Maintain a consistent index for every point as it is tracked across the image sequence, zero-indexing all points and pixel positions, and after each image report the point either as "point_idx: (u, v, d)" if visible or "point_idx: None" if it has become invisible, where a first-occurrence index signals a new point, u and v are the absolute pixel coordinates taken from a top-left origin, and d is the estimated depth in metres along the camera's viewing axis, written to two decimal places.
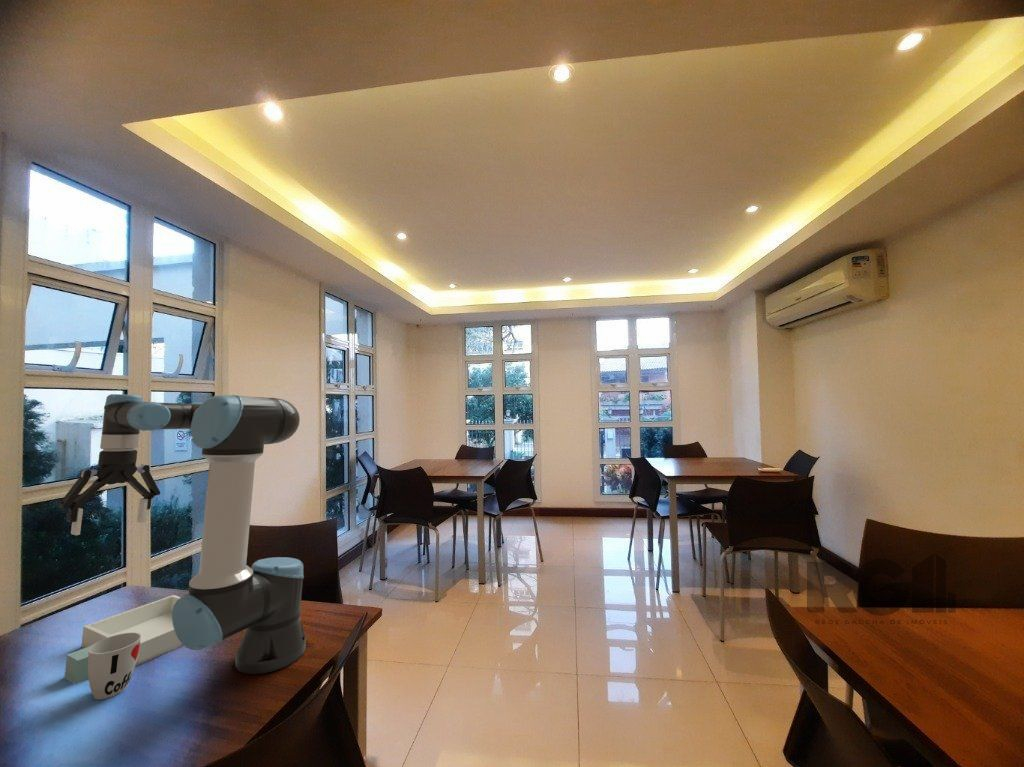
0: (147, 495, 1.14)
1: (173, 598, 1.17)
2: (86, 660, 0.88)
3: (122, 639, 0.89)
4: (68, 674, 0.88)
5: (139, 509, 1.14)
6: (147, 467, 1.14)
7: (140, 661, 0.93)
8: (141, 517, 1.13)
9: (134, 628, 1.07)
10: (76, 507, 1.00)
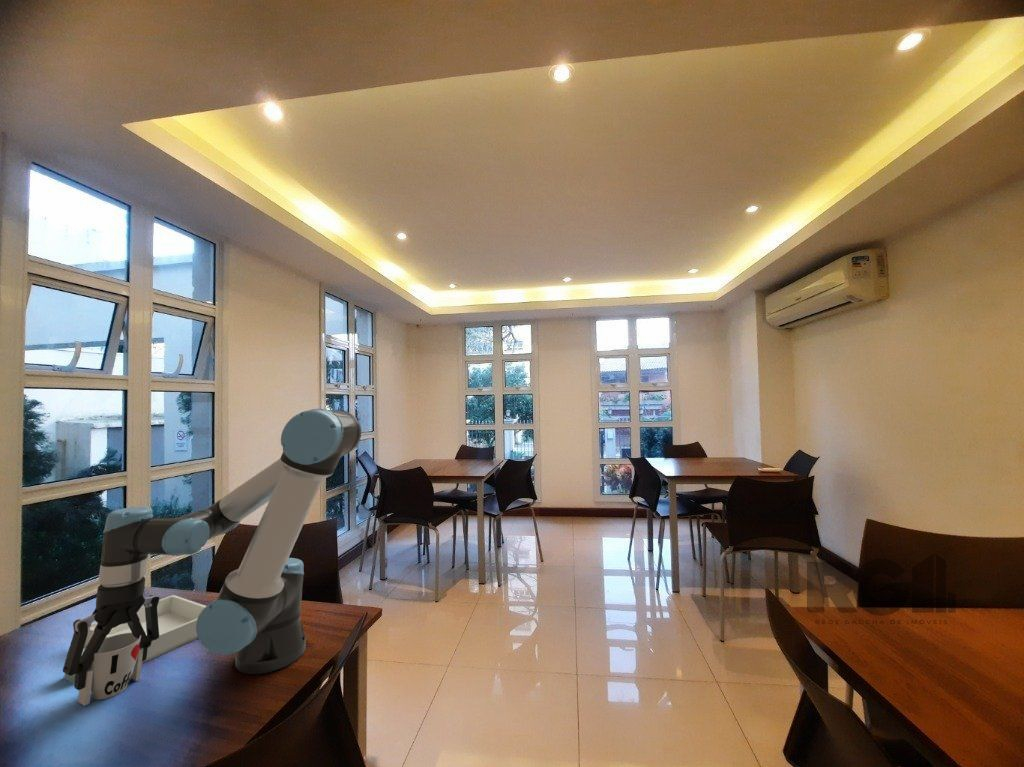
0: (143, 642, 0.89)
1: (173, 598, 1.17)
2: None
3: (122, 640, 0.89)
4: None
5: None
6: (156, 600, 0.91)
7: None
8: (135, 673, 0.88)
9: None
10: (85, 670, 0.80)
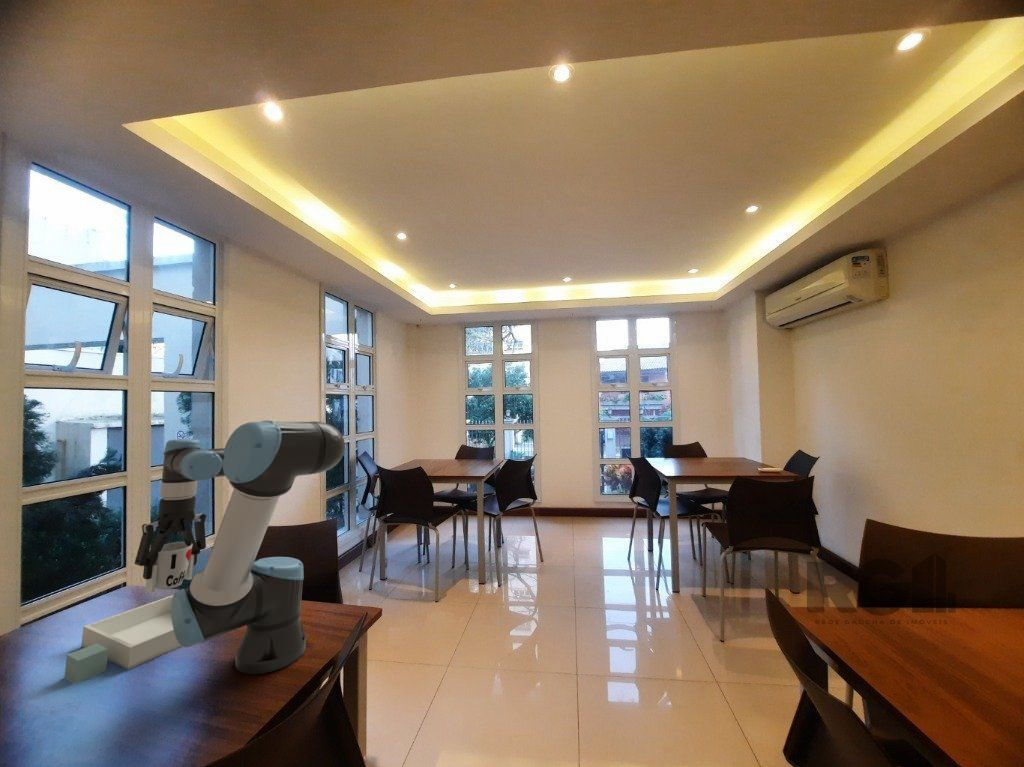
0: (194, 549, 1.08)
1: None
2: (86, 660, 0.88)
3: (176, 547, 1.08)
4: (68, 674, 0.88)
5: None
6: (204, 516, 1.10)
7: (140, 661, 0.93)
8: (187, 574, 1.07)
9: (134, 628, 1.07)
10: (152, 564, 0.99)
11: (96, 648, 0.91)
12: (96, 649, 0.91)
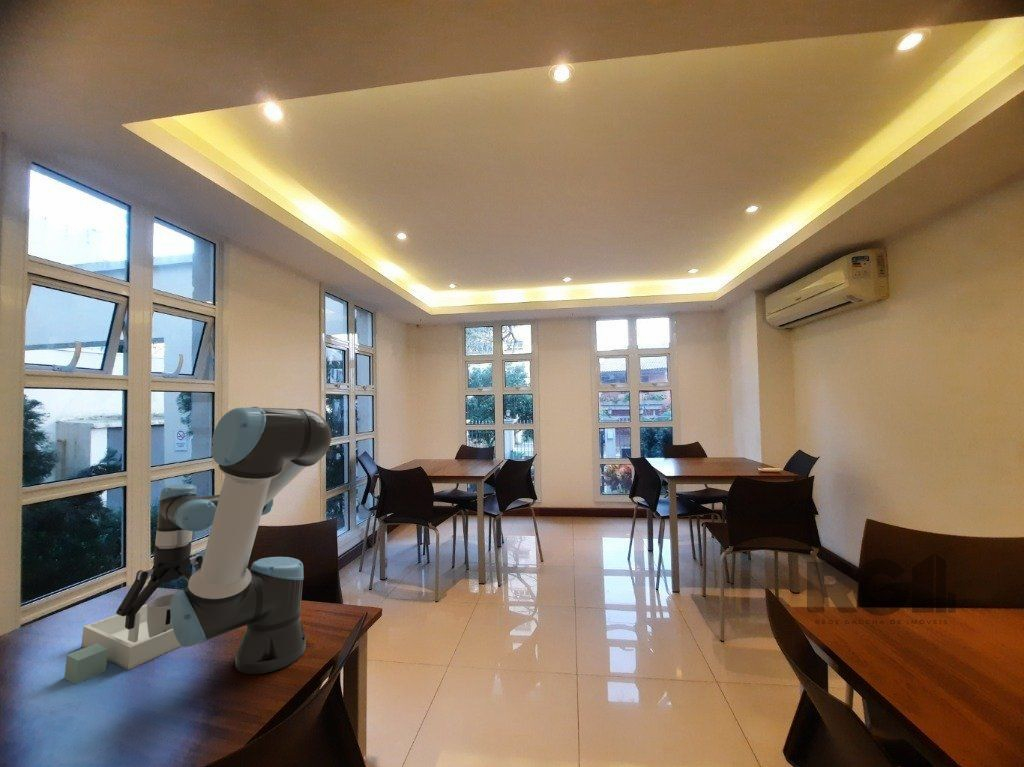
0: None
1: None
2: (86, 660, 0.88)
3: None
4: (68, 674, 0.88)
5: None
6: (200, 558, 1.09)
7: (140, 661, 0.93)
8: None
9: None
10: (134, 613, 0.96)
11: (96, 648, 0.91)
12: (96, 649, 0.91)
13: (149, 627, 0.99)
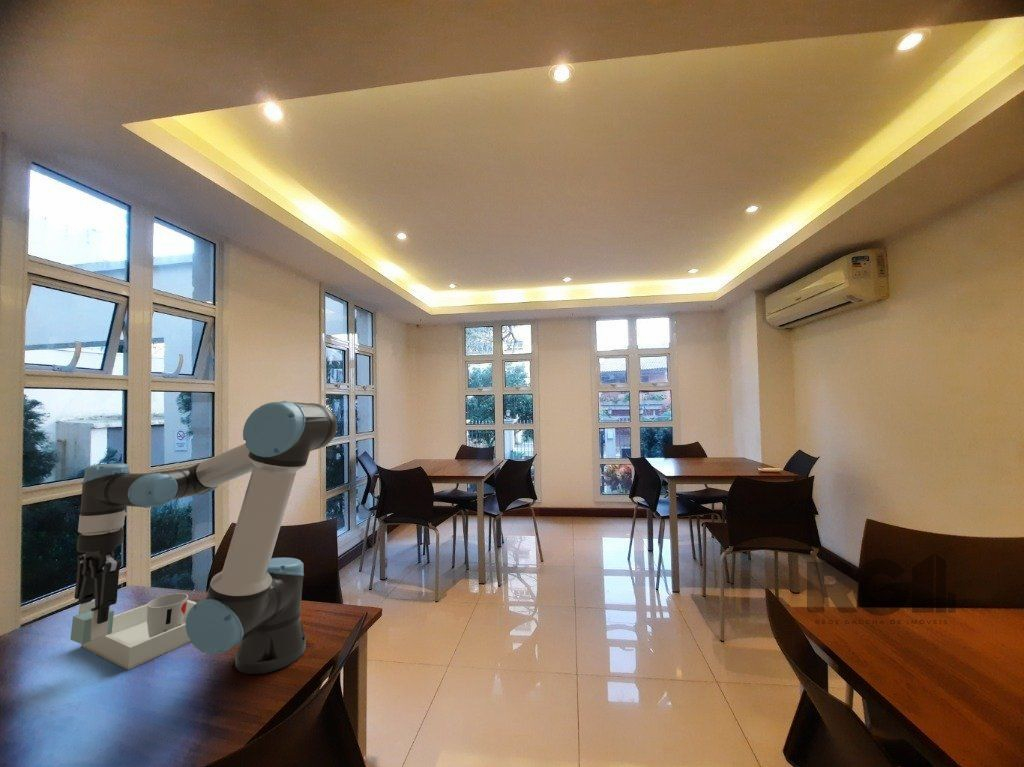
0: (95, 603, 0.88)
1: None
2: None
3: (172, 599, 1.07)
4: (75, 634, 0.88)
5: None
6: (105, 566, 0.88)
7: (140, 661, 0.93)
8: None
9: (134, 628, 1.07)
10: (79, 601, 0.91)
11: None
12: None
13: (149, 627, 1.00)
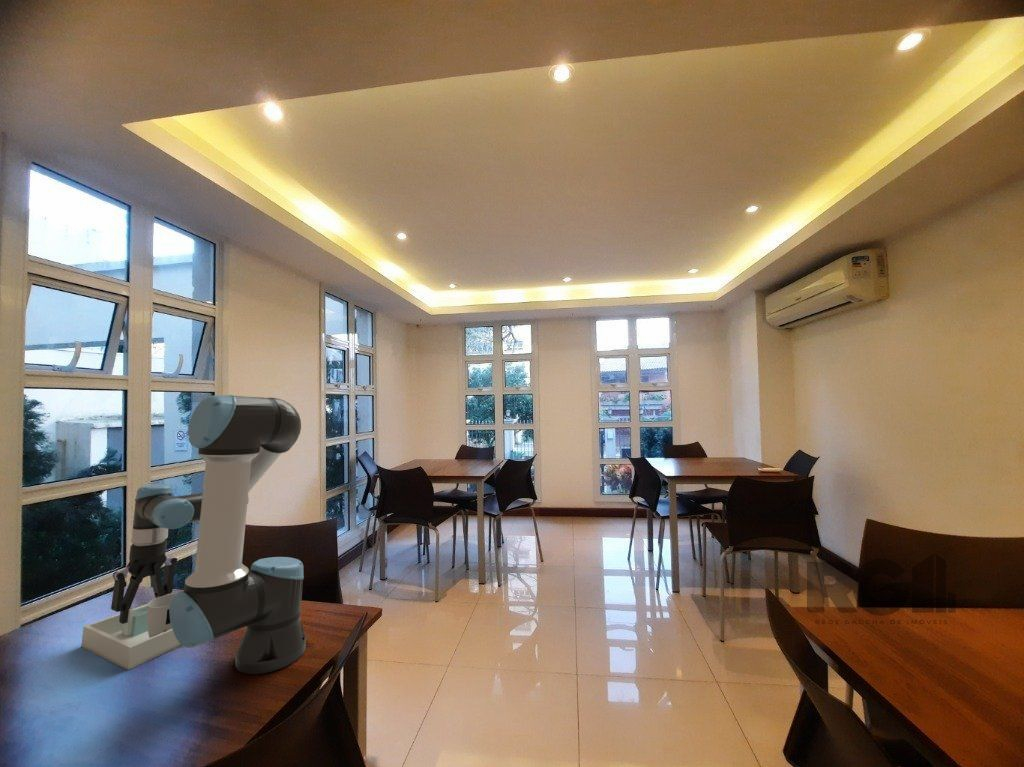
0: (160, 594, 1.10)
1: None
2: None
3: None
4: (142, 627, 1.05)
5: None
6: (175, 560, 1.13)
7: (140, 661, 0.93)
8: None
9: None
10: (127, 608, 1.03)
11: (139, 609, 1.08)
12: (142, 608, 1.08)
13: (149, 627, 0.99)
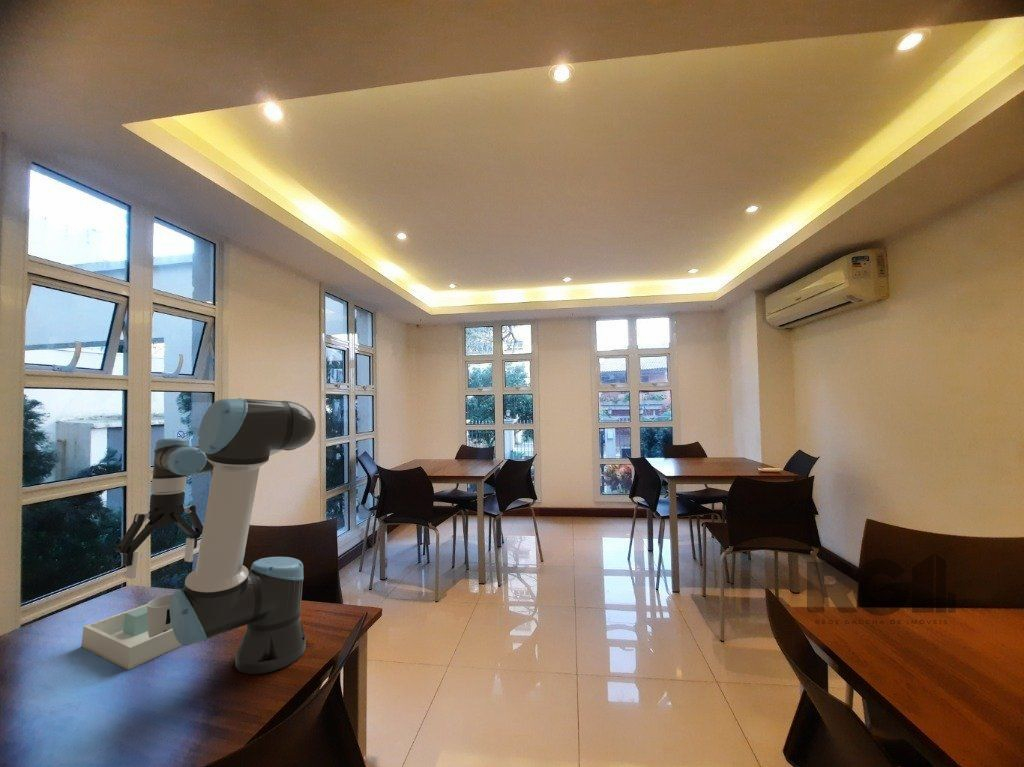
0: (194, 535, 1.17)
1: None
2: None
3: None
4: (142, 627, 1.05)
5: (186, 548, 1.17)
6: (193, 507, 1.18)
7: (140, 661, 0.93)
8: (189, 556, 1.16)
9: None
10: (132, 551, 1.04)
11: (139, 609, 1.08)
12: (142, 608, 1.08)
13: (149, 627, 1.00)
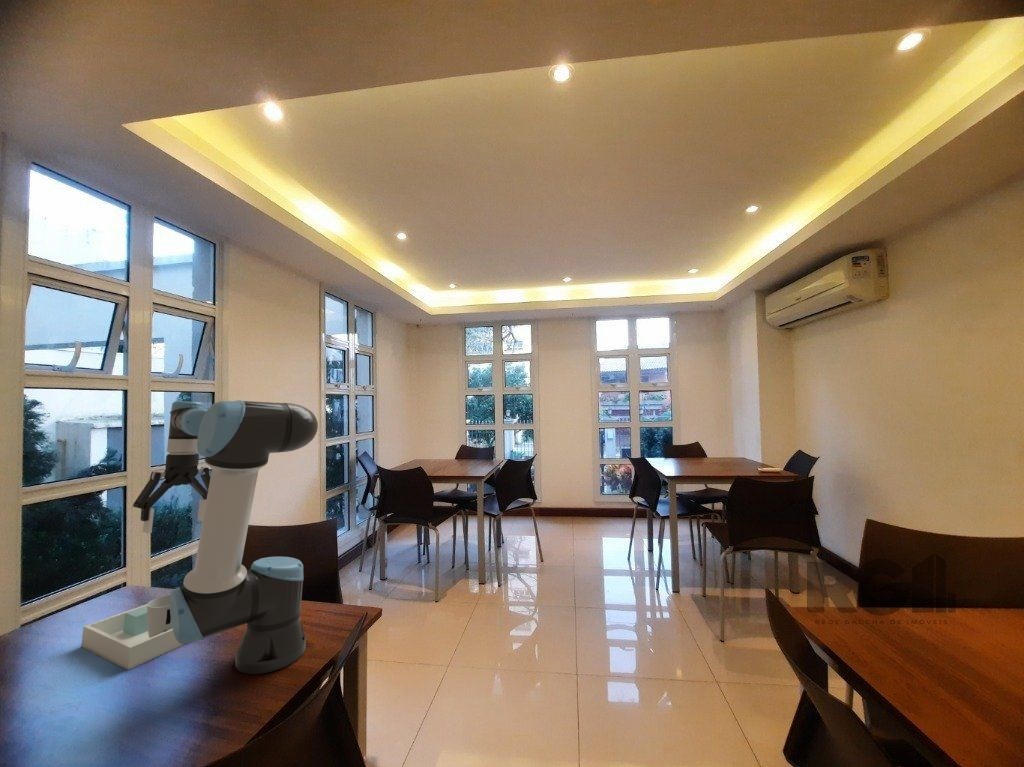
0: (207, 496, 1.21)
1: None
2: None
3: None
4: (142, 627, 1.05)
5: (199, 509, 1.21)
6: (207, 469, 1.21)
7: (140, 661, 0.93)
8: (202, 516, 1.20)
9: None
10: (148, 507, 1.07)
11: (139, 609, 1.08)
12: (142, 608, 1.08)
13: (149, 627, 0.99)
